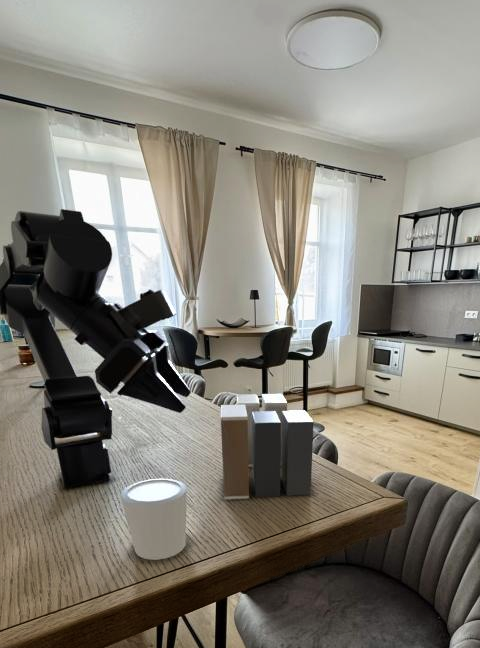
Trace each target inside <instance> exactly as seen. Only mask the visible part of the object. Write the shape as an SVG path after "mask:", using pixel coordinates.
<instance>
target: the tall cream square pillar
mask: <svg viewBox="0 0 480 648" xmlns="http://www.w3.org/2000/svg"><path fill="white" fill-rule="evenodd" d="M220 432H221V433H220V434H221V455H222V457H221V458H222V478H223V479H222V480H223V499H224V500H225V501H226V500H243V499H245V500H246V499H250V477H249V476H250V475H249V474H250V473H249V472H250V471H249V468H250V467H248V417H247V412H246V407H245V405H237V404H220Z"/></svg>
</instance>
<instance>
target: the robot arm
mask: <svg viewBox="0 0 480 648" xmlns="http://www.w3.org/2000/svg"><path fill="white" fill-rule="evenodd" d="M10 231H11V238H12V242H11V243H8V244H7V245H3V246H2V254H3V260H2V262H1V264H0V316H3V317H4V320H5V322H6V324H7V325H8V327H9V328H10V329H12V330H14V331H16V332H18V333H20V334H21V335H23V336H24V338H25V340H26V342H27V344H28V347H29V349H30V353H31V354H32V356H33V358H34V361H35V363H36V366H37V368H38V370H39V373H40V375H41V378H42V380H43V382H44V390H43V402H44V404H43V405H44V407H41V424H40V425H41V428H40V429H41V433H42V436H43V440H44V443H45V444H46V445H47V446H48V448H49V449H51V451H53V450H56V453H57V458H58V463H59V469H60V472H59V474H60V478H61V481H62V482H61V483H62V486H63V489H71V488H79V487H84V486H89V485H93V484H95V485H96V484H101V483H106V482H110V481H111V477H110V474H111V473H112V469H111V461H110V455H109V449H108V447H107V446H106V444H104V442H103V441H106V440H112V436H113V409H112V408H111V407H110V405H109V403H108V401H107V400H106V399H104V398H103V396H102V392H101V391H100V390H99V389H98V387H97V384H98V385H99V386H100V387H102V388H103V389H104V390H105V391H106V392H108V393H109V394H110V395H111V394H112V393H113V392H115V391H116V390H117V389H118V388H119V387H120V385H121V383H122V384H123V385H122V386H121V388H120V389H119V390H118V391H116V394H117V395H118V396H125V397H128V398H131V399H135V400H138V401H142V402H144V403H148V404H151V405H154V406H157V407H159V408H163V409H166V410H170V411H172V412H175V413H178V414H181V413H183V412H184V411H185V409H186V404H185V403H184V402H183V401H182V400H181V398H180V397H179V396H182V397H184V398H188V397H189V396H190V395H191V394H192V390H191V389H190V388H189V387H188V385H187V384H186V382H185V381H184V379H183V378H182V376H181V375H180V374H179V372H178V371H177V369H176V368H175V366H174V364H172V362H171V360H170V355H169V343H168V342H167V338H165V336H164V335H162V334H161V333H160V332H159V331H158V330H155V329H154V330H152V329H151V330H148V327H151V326H153V325H155V324H157V323H158V322H160V321H165V320H167V319H170V318H172V317H174V316H176V315H177V312H176V311H175V308H174V307H173V304H172V302H171V299H170V298H169V297H168V294H167V292H166V291H165V290H164V289H159V290H156V291H154V290H153V289H151V288H150V289H148V290H147V291H145V292H141V293H140V294H139V299H138V300H136V301H134V302H132V303H130V304H128V305H126V306H124V307H123V306H122V305H120V303H118V302H117V303H115V302H110V301H109V300H107V298H105V297H104V296H103V295H102V294H101V293H100V290H101V287H102V285H103V282H104V279H105V277H106V274H107V272H108V270H109V267H110V264H111V262H112V259H113V250H112V249H113V248H112V246H111V243H110V242H109V240H107V238H106V237H105V235H104V234H103V233H102V232H101V231H100V230H99V229H98V228H96V227H94V225H92V224H90V223H88V222H86V221H85V219H84V215H83V212H82V211H79V210H72V209H65V208H61V209H60V211H59V215H56V214H48V213H39V212H32V211H23V210H19V211H17V212H16V214H15V218H14V220H11V224H10ZM14 274H16V275H33V276H34V275H36V276H38V277H37V279H36V282H34V283H33V284H31V285H29V284H11V282H12V281H13V280H14V277H15V275H14ZM56 319H57V320H58V321H59V322H60V323H62V325H64V326H65V328H68V329H69V330H70V332H72V333H73V334H74V335H75V336H76V337H74V341H75V342H77V343H78V344H79V345H80V346H84V345H87V346H88V347H90V349H92V350H93V351H94V352H95V353H97V354H98V355H99V356H100V357H101V358H102V359H103V360H102V361H101V363H99V365H98V366H97V367H96V368H95V370H94V376H95V379H94V378H92V376H91V375H78V374H77V371H76V370H75V368H74V365H73V363H72V362H71V359H70V357H69V355H68V353H67V351H66V349H65V347H64V345H63V342H62V340H61V339H60V336H59V334H58V332H57V330H56V328H55V327H56ZM166 342H167V343H166ZM163 345H164V346H163ZM162 346H163V347H162ZM161 347H162V348H161ZM160 348H161V349H160ZM178 395H179V396H178Z"/></svg>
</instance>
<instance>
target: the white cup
mask: <svg viewBox="0 0 480 648" xmlns="http://www.w3.org/2000/svg"><path fill="white" fill-rule="evenodd" d="M187 492H188V490H187V485H186V484H185V483H184V482H182V481H180V480H176V479H173V478H152V479H146V480H142V481H137V482H135V483H133V484H129V485H128V486H127V487H125V488H124V489H122V491H121V494H120V500H121V502H122V507H123V510H124V515H125V518H126V523H127V526H128V531H129V534H130V537H131V538H130V539H131V542H132V545H133V549H134V552H135V554H136V555H137V556H138V557H140V558H142V559H144V560H151V561H157V560H158V561H159V560H165V559H169V558H172V557H174V556H176V555H178V554H179V553H181V552H182V551H183V550H184V548H185V547H186V543H187V501H188V499H187V496H188V495H187V494H188V493H187Z"/></svg>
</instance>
